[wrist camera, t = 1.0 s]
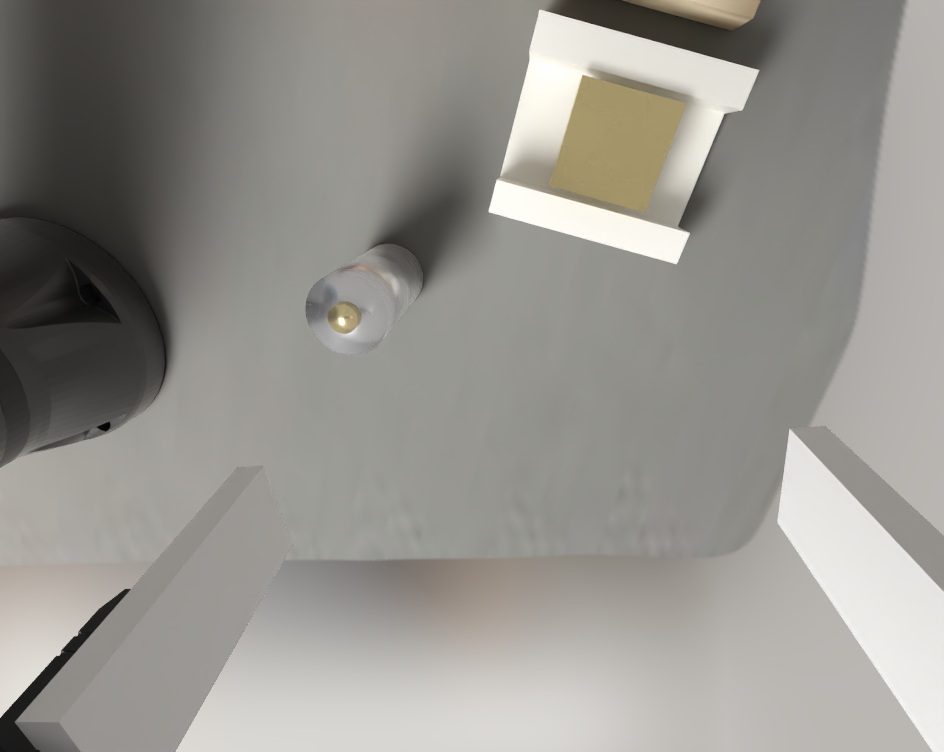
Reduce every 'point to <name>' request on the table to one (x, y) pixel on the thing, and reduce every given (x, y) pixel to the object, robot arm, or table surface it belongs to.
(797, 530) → the robot arm
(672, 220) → the cradle
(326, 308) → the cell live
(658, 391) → the table surface
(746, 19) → the trough
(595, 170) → the tan flat square block
